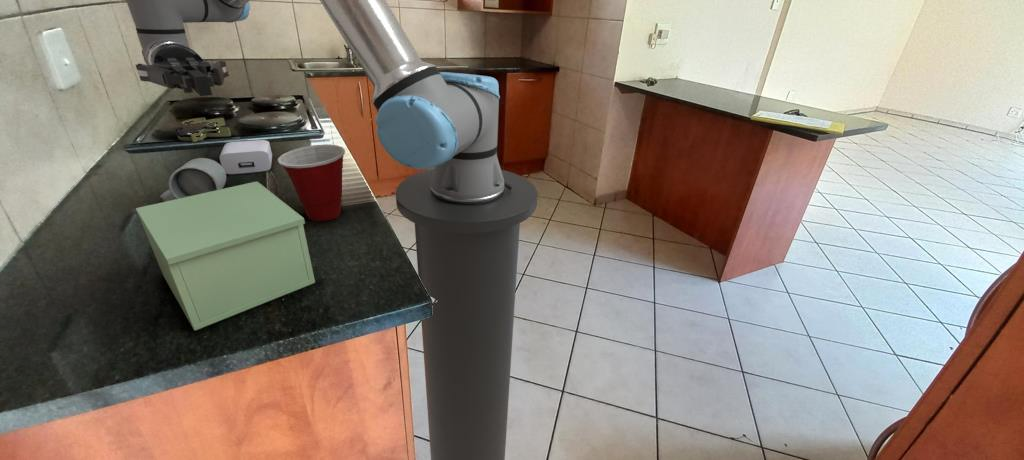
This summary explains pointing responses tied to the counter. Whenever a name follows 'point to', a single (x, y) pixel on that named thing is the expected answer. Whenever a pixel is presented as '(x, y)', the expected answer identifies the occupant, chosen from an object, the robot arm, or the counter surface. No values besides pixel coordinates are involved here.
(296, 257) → the bin
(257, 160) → the charger
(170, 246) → the bin lid
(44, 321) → the counter surface
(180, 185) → the ceramic mug
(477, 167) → the robot arm
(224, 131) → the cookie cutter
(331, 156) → the plastic cup
